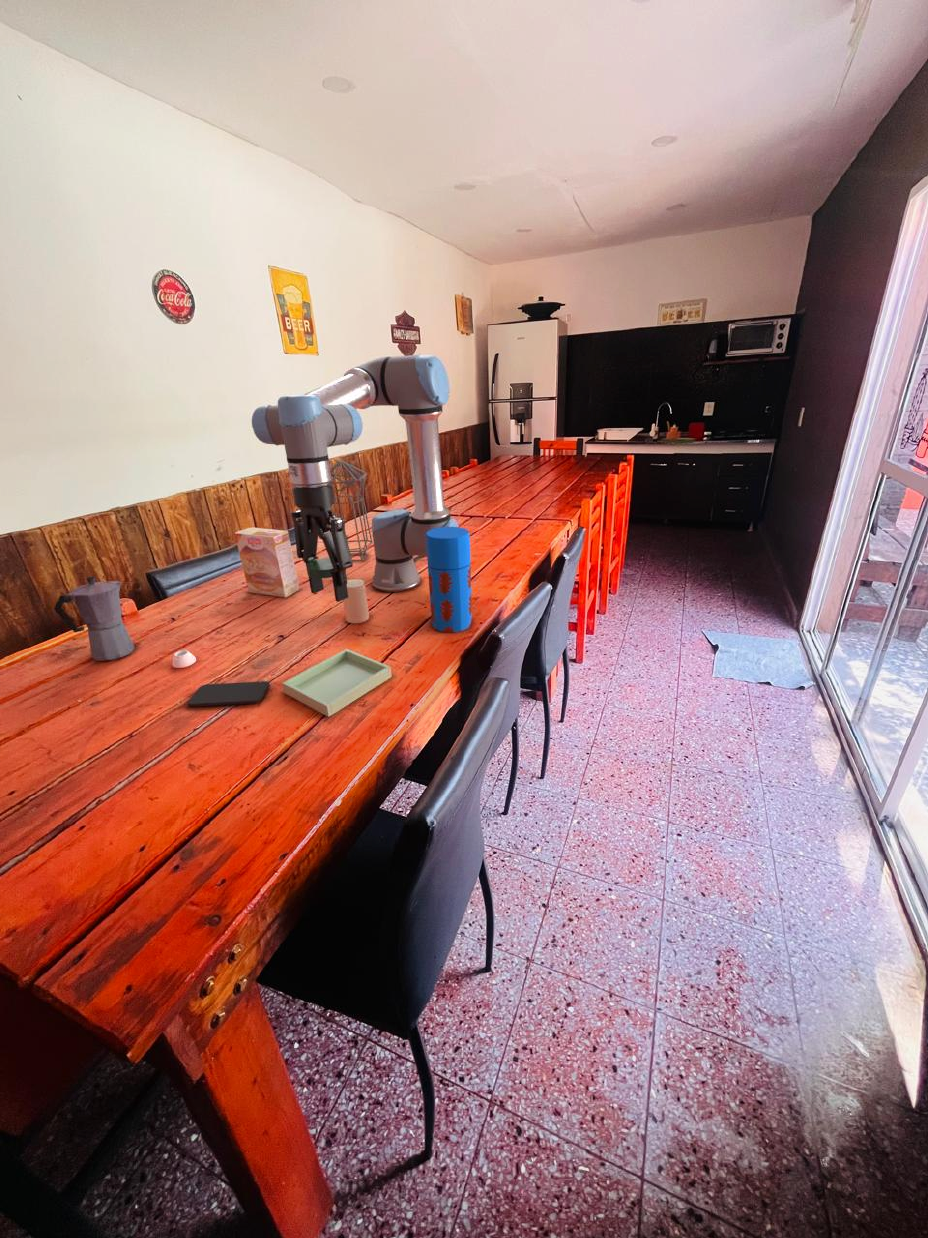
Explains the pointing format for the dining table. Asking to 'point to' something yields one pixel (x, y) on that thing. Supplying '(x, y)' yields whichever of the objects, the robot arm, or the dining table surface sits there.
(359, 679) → the tray
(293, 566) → the coffeecake box
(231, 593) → the dining table surface
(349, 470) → the geometric lantern
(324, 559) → the jar lid
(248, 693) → the phone
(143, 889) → the dining table surface
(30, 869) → the dining table surface
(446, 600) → the thermos
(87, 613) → the moka pot
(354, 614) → the jar
